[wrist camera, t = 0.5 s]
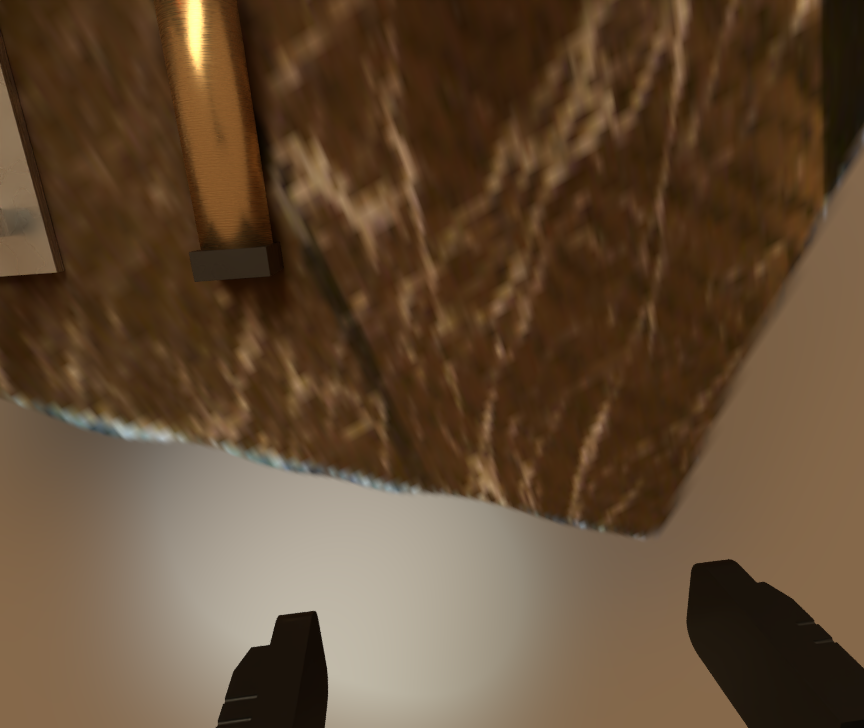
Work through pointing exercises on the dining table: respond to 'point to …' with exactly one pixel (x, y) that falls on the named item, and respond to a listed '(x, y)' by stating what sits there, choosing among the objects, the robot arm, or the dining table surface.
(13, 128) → the white holder rack
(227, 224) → the tube
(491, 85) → the dining table surface
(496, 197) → the dining table surface
